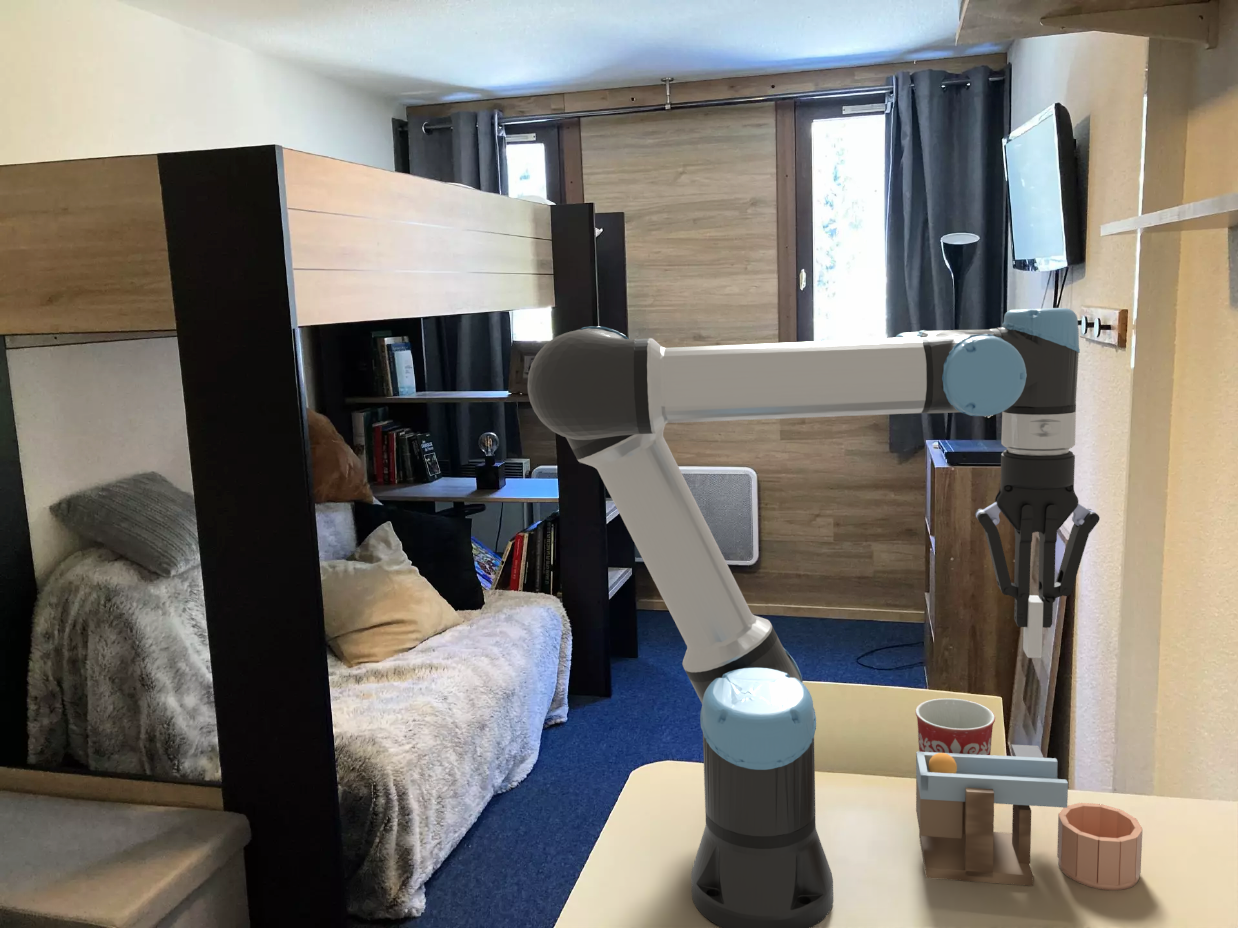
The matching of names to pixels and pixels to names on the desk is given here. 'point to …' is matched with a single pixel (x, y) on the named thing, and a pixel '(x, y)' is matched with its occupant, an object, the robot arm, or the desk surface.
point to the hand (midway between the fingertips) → (1032, 653)
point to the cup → (1099, 846)
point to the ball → (942, 764)
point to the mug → (954, 727)
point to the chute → (984, 786)
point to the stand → (982, 845)
